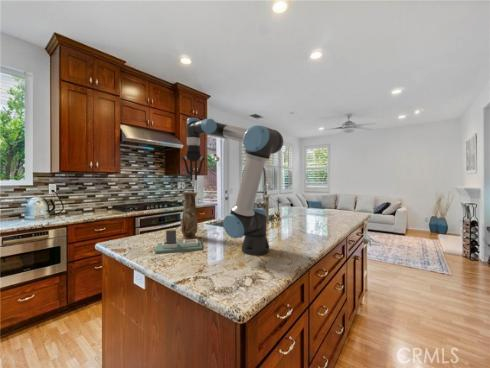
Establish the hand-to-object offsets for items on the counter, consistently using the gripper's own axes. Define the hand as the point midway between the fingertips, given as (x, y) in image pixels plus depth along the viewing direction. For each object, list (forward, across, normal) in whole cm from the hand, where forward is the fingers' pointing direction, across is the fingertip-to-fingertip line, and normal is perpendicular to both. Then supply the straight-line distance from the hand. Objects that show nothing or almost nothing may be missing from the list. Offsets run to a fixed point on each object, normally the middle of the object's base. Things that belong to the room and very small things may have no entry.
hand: (193, 185), depth 135 cm
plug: (+33, +12, +5) cm, 36 cm away
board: (+34, +8, +5) cm, 36 cm away
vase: (+35, +2, -15) cm, 38 cm away
